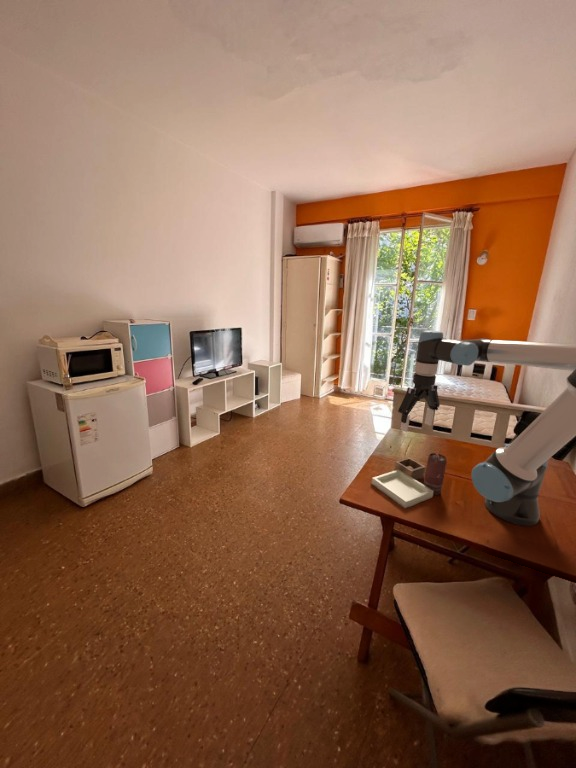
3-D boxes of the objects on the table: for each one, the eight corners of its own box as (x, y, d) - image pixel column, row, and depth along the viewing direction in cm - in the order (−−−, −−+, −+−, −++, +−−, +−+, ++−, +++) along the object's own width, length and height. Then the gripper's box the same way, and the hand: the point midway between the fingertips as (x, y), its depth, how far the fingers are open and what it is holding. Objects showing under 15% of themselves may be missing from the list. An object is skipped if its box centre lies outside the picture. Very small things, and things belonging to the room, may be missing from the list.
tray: (432, 497, 113) (433, 491, 113) (405, 508, 107) (406, 501, 106) (397, 475, 127) (398, 469, 126) (371, 483, 120) (372, 477, 119)
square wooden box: (423, 477, 125) (425, 466, 124) (409, 482, 122) (411, 471, 120) (407, 468, 132) (409, 457, 131) (393, 472, 128) (395, 461, 127)
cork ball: (414, 474, 126) (416, 467, 125) (409, 476, 125) (410, 469, 124) (408, 471, 129) (409, 464, 128) (402, 472, 127) (404, 465, 126)
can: (436, 486, 120) (443, 452, 116) (443, 496, 114) (450, 461, 110) (420, 484, 121) (426, 451, 117) (425, 494, 115) (431, 460, 111)
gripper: (438, 368, 125) (429, 419, 130) (392, 374, 113) (385, 429, 119) (455, 373, 118) (445, 425, 124) (409, 379, 106) (401, 437, 112)
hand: (416, 427), depth 121 cm, fingers open, 13 cm apart
